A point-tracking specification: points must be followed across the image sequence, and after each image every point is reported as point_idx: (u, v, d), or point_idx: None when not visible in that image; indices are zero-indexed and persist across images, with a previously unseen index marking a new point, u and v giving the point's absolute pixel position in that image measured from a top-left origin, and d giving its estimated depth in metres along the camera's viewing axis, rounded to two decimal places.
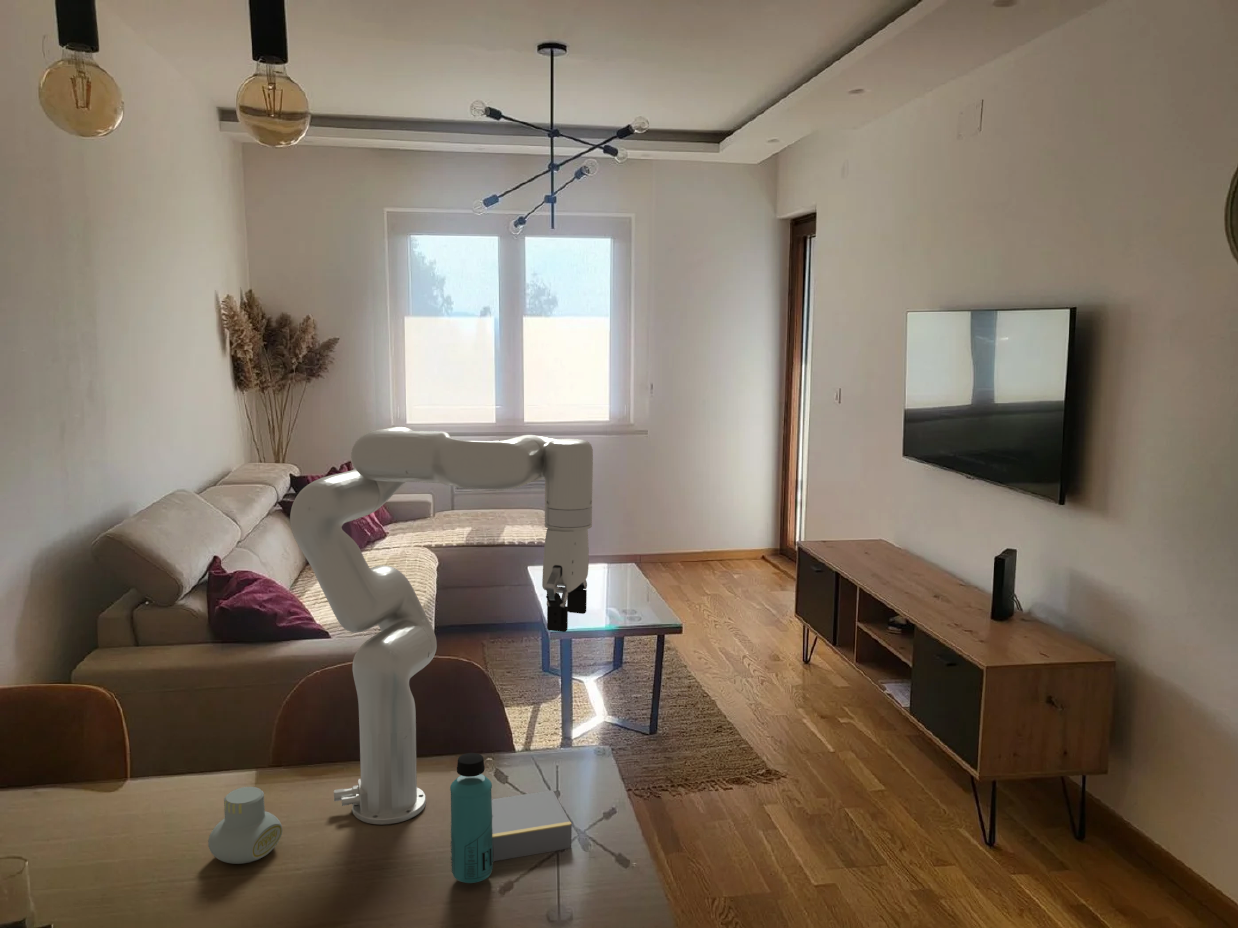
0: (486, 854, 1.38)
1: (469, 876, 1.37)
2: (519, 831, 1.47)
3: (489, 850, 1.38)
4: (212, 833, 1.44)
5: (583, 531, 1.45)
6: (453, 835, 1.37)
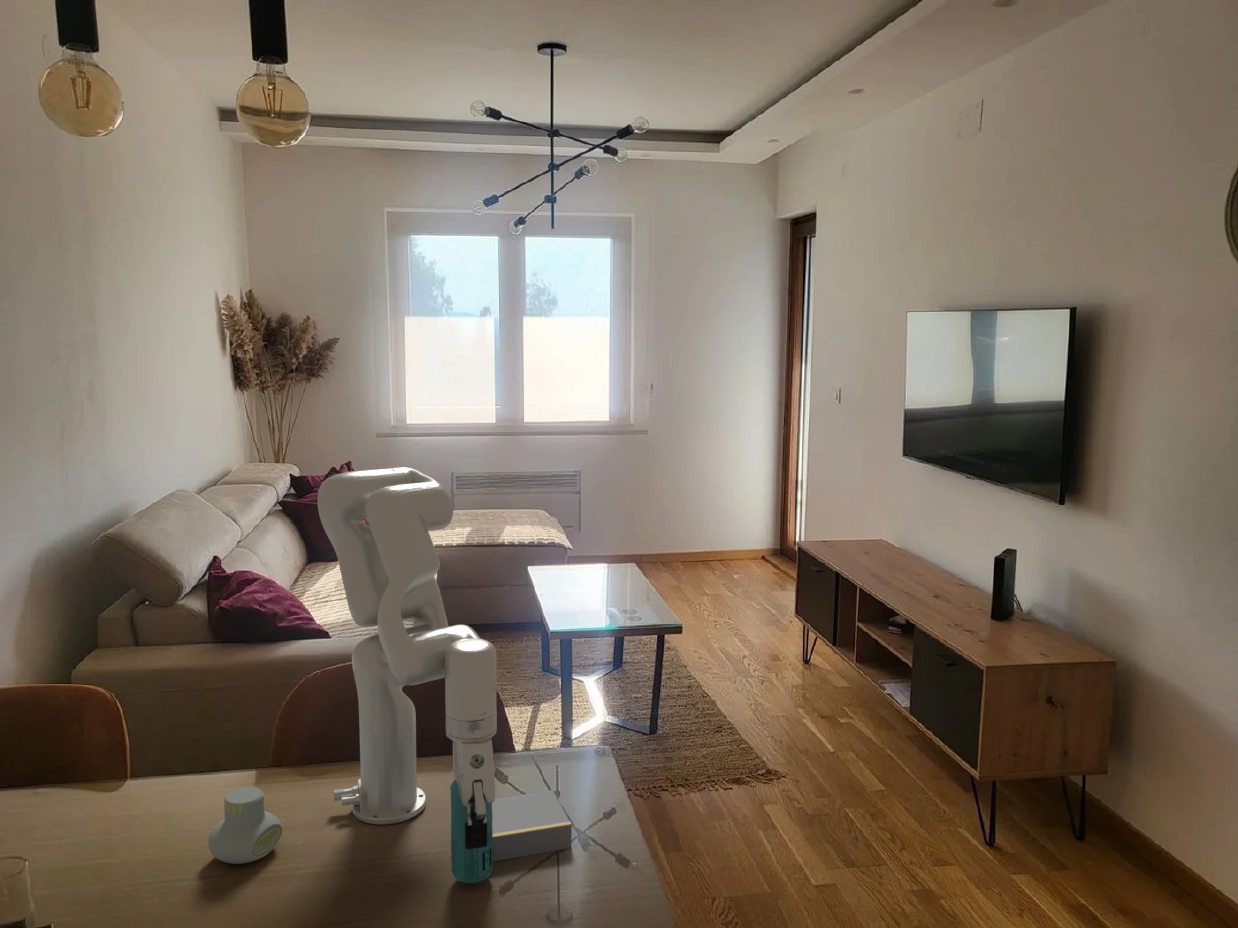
0: (486, 854, 1.38)
1: (469, 876, 1.37)
2: (519, 831, 1.47)
3: (489, 850, 1.38)
4: (212, 833, 1.44)
5: None
6: (453, 835, 1.37)
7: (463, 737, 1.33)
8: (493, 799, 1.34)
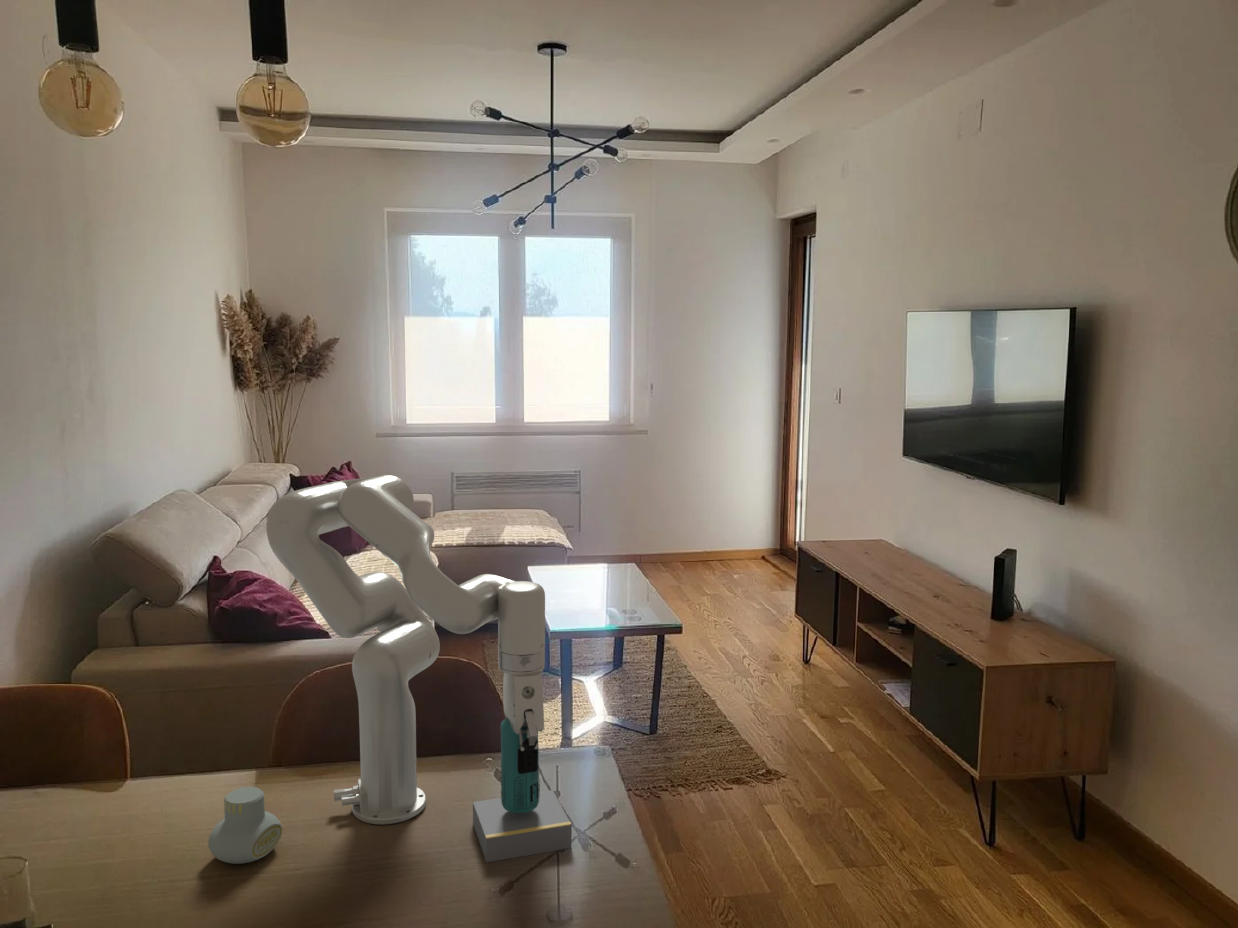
0: (534, 787, 1.50)
1: (518, 807, 1.49)
2: (519, 831, 1.47)
3: (536, 783, 1.51)
4: (212, 833, 1.44)
5: (506, 672, 1.48)
6: (503, 769, 1.50)
7: (515, 670, 1.45)
8: (542, 728, 1.46)
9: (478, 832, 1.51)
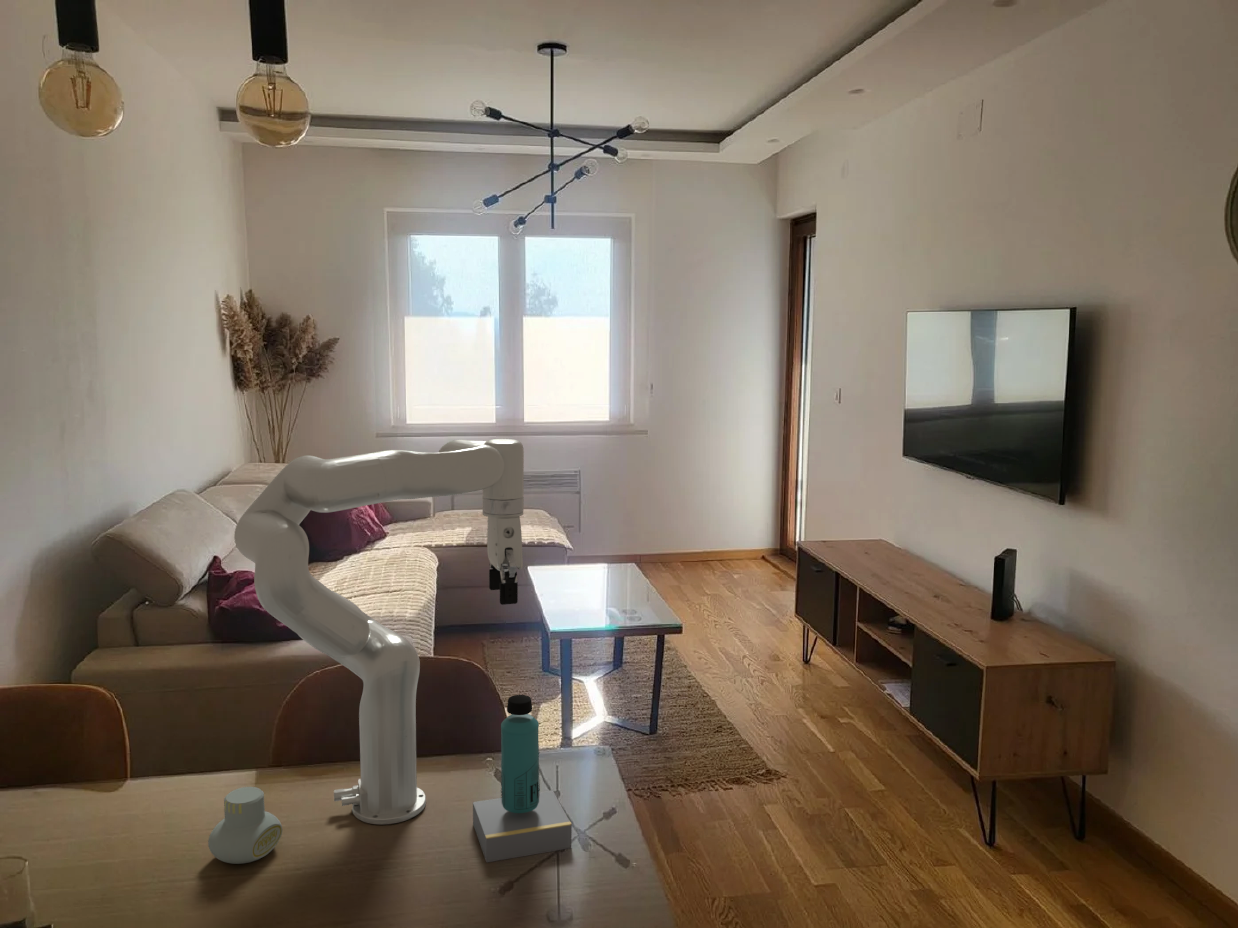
0: (534, 787, 1.50)
1: (518, 807, 1.49)
2: (519, 831, 1.47)
3: (536, 783, 1.51)
4: (212, 833, 1.44)
5: (489, 518, 1.68)
6: (503, 769, 1.50)
7: (497, 513, 1.65)
8: (521, 565, 1.66)
9: (478, 832, 1.51)
